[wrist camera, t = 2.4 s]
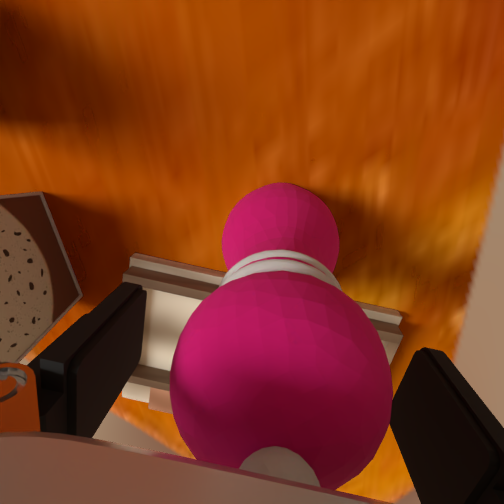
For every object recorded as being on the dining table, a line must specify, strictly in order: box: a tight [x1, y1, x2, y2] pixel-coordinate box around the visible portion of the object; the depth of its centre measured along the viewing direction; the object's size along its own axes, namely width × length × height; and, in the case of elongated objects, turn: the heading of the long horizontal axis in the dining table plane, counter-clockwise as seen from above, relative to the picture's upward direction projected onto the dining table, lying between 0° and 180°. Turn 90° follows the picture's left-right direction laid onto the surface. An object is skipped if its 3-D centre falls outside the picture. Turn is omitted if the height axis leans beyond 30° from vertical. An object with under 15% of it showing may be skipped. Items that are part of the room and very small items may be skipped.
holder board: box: [122, 253, 403, 414], centre depth 27 cm, size 15×22×2 cm
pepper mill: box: [170, 183, 393, 490], centre depth 14 cm, size 7×7×20 cm
